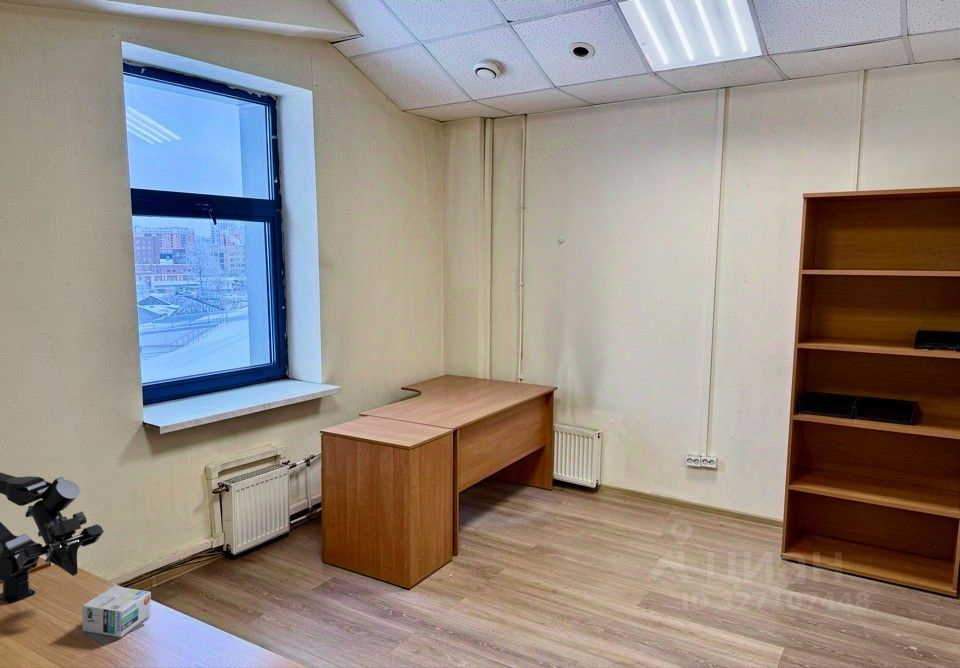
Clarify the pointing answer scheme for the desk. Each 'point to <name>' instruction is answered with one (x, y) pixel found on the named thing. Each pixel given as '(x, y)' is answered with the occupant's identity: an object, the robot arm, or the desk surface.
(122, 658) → the desk surface
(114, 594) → the light bulb box
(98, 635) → the rubber mat
